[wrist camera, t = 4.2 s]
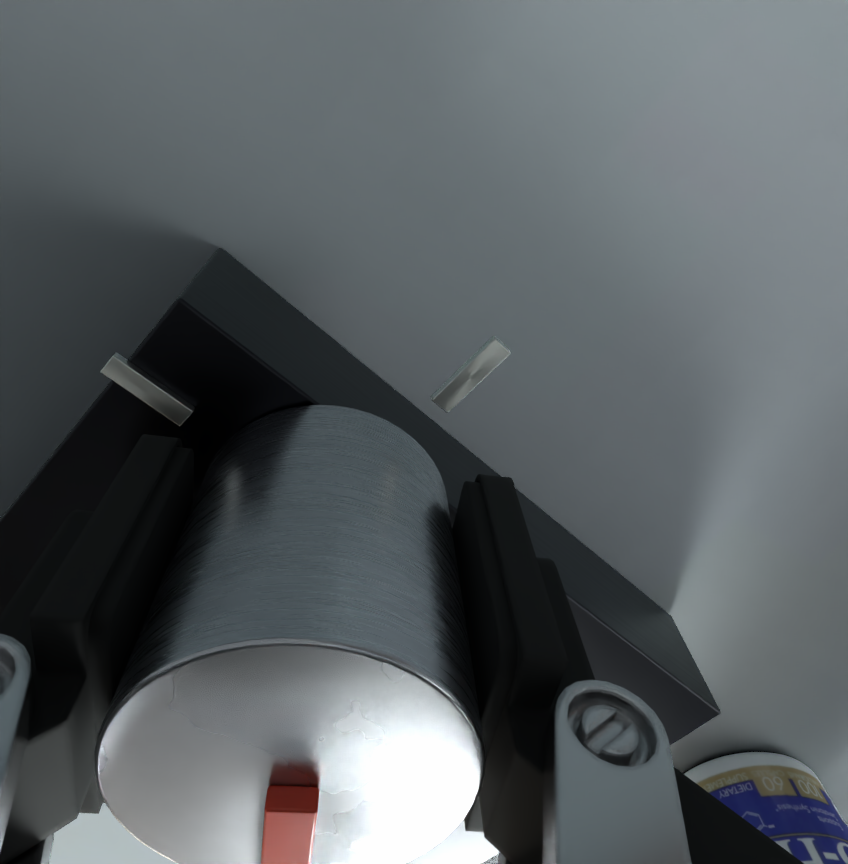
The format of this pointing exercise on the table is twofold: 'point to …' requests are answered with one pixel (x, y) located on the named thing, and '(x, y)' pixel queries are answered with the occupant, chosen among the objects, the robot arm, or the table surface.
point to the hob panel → (338, 386)
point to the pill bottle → (779, 803)
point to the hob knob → (302, 659)
